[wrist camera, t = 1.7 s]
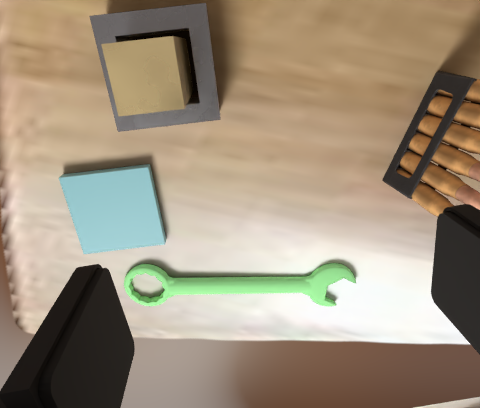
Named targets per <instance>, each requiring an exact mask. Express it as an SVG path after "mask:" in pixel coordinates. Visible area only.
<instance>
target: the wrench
mask: <svg viewBox="0 0 480 408" xmlns="http://www.w3.org/2000/svg"><path fill="white" fill-rule="evenodd" d="M144 273H147V274H148V275H151V276H156V278H157V279H158V280H159V281H161V282H162V285H163V288H164V289H165V290H164V292H163V293H161V295H160V296H154V297H152V298H149V297H147V296H140V294H139V293H137V292H135V291H134V289H133V286H132V285H131V282H132V280H133V278H134V277H135V275H136V274H140V275H142V274H144ZM343 278H345V279H347V280H349V281H351V282H353V283H356V280H355V277H354V275H353V273H352V272H351V270H350V269H349V268H348V267H346V266H344V265H342V264H338V263H329V264H325V265H323V266H320V267H319V268H317V269H316V270H314V271H313V272H312V274H311V275H309V276H300V277H207V278H172V277H169V276H168V274H167V273H166V272H165V271H164V270H162V269H161V268H159V267H157V266H155V265H151V264H141V265H138V266H136V267H134V268H132V269H131V270H130V271H129V272H128V274H127V276H126V277H125V280H124V287H125V290H126V292H127V294H128V295H129V297H130V298H131V299H133V300H134V301H135V302H137V303H139V304H142V305H145V306H157V305H160V304H162V303H163V302H165V301H166V300H167V298H169V297H172V296H174V295H185V294H250V293H303V294H306V295H308V296H310V298H311V299H312V300H313V301H314V302H315V303H317V304H319V305H322V306H335V305H336V303H335V301H333V300H331V299H329V298H327V297H325V295H326V290H327V286H328V285H330V284H333V283H335V282H337V281H339V280H341V279H343Z"/></svg>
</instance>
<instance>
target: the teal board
mask: <svg viewBox="0 0 480 408" xmlns="http://www.w3.org/2000/svg"><path fill="white" fill-rule="evenodd" d="M59 180H60V183H61V186H62V189H63V192H64V195H65V198H66V201H67V204H68V207H69V210H70V213H71V217H72V220H73V223H74V226H75V229H76V232H77V235H78V238H79V241H80V244H81V247H82V250H83V253H84V254H90V253H98V252H106V251H114V250H122V249H130V248H138V247H146V246H154V245H162V244H165V242H166V236H165V231H164V227H163V222H162V217H161V213H160V208H159V203H158V199H157V194H156V190H155V185H154V180H153V176H152V171H151V167H150V164H145V165H137V166H128V167H120V168H112V169H104V170H95V171H87V172H79V173H70V174H63V175H62V176H61V177H59Z"/></svg>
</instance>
